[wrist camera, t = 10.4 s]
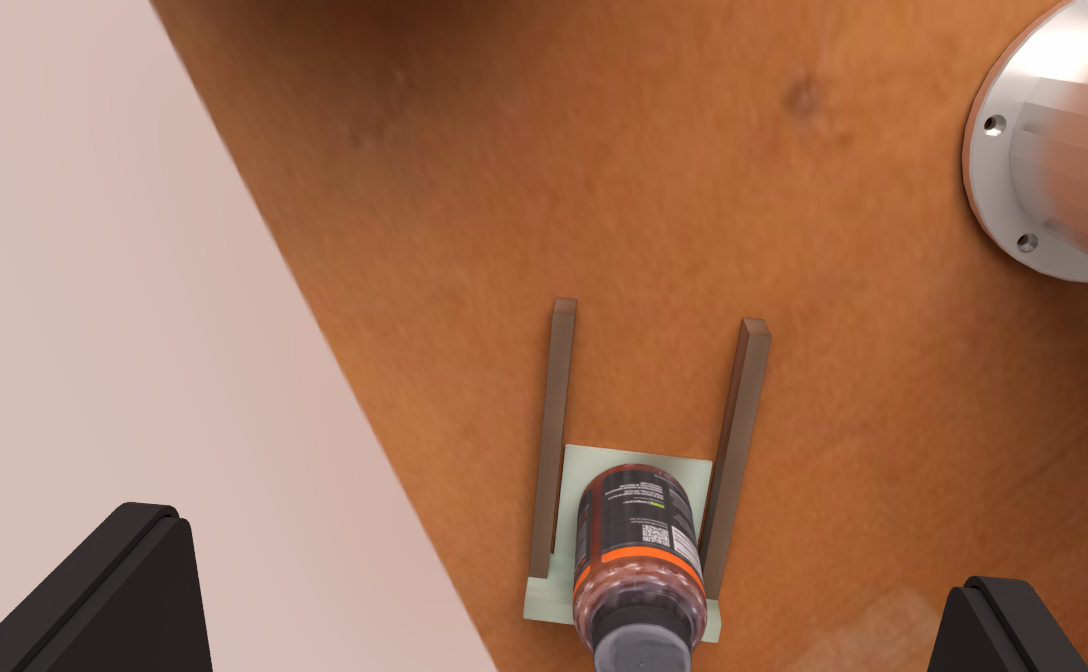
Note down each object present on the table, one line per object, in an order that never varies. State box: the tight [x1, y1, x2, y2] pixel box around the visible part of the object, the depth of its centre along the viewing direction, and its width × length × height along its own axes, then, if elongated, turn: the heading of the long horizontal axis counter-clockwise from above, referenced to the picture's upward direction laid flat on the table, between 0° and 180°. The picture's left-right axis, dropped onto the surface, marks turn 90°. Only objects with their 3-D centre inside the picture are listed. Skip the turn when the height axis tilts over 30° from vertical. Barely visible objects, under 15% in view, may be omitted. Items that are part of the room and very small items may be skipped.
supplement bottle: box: [573, 464, 707, 672], centre depth 38 cm, size 6×6×11 cm
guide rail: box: [523, 297, 772, 643], centre depth 41 cm, size 10×16×4 cm, turn 175°
